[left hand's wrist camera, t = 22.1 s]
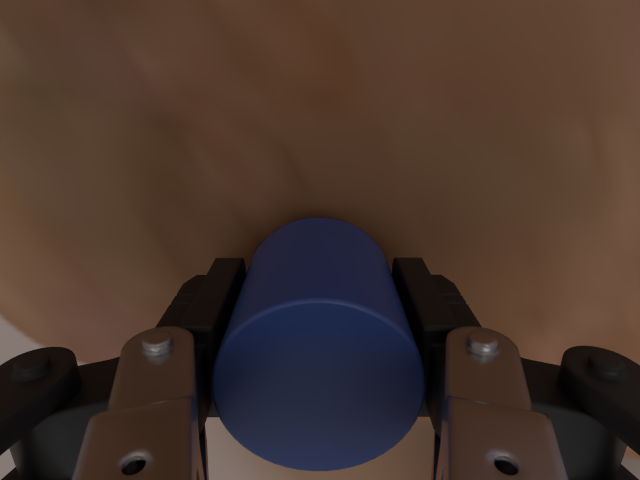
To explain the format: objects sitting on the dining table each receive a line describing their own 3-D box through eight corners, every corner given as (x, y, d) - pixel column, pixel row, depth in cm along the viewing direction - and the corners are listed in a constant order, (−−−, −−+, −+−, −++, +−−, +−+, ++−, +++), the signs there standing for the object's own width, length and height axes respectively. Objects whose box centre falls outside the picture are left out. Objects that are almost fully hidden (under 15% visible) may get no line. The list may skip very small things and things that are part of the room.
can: (398, 221, 12) (444, 306, 7) (381, 347, 13) (410, 477, 9) (248, 211, 12) (205, 292, 7) (247, 340, 13) (213, 468, 9)
